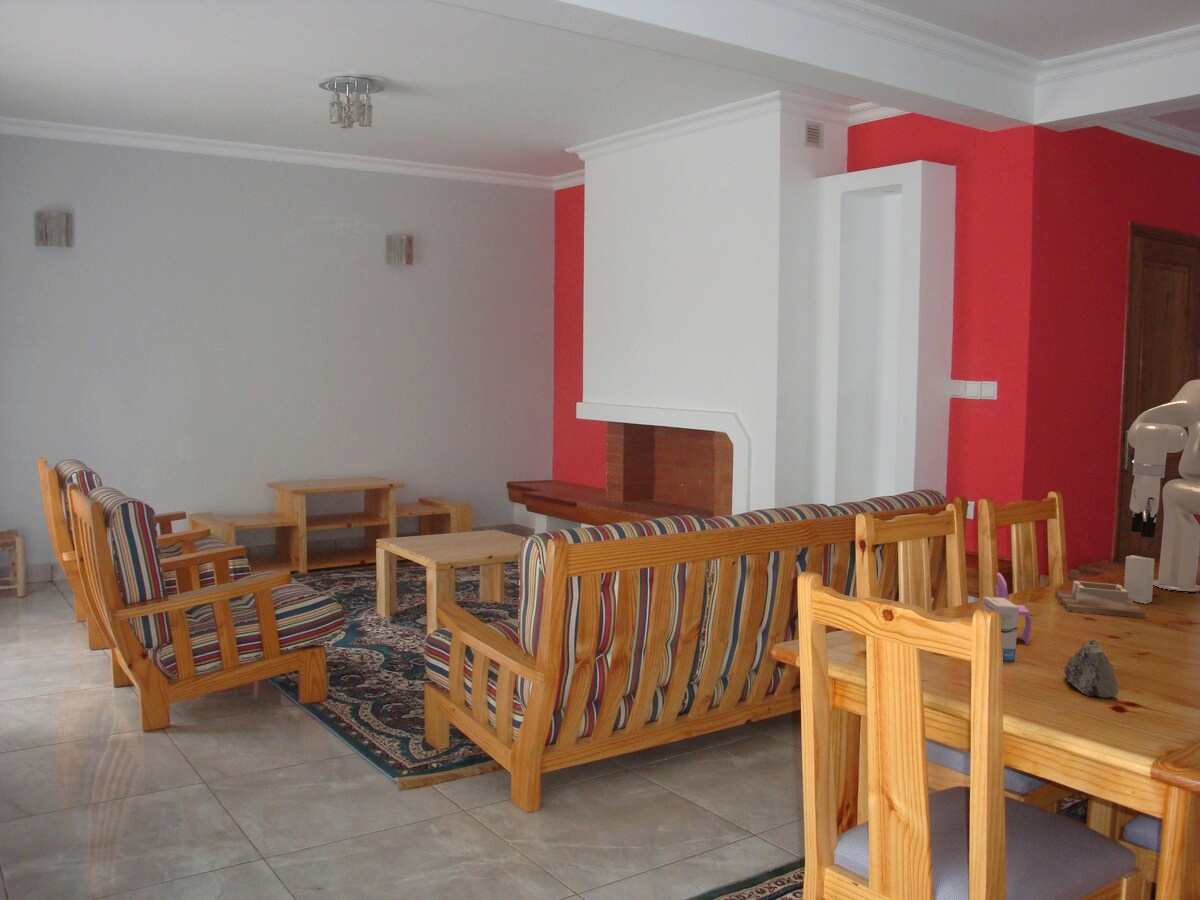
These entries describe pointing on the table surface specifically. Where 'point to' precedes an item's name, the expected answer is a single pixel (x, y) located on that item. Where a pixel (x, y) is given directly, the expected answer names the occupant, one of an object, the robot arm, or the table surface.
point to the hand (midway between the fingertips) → (1142, 534)
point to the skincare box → (1139, 578)
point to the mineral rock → (1092, 671)
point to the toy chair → (1002, 593)
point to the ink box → (1005, 623)
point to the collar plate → (1099, 599)
